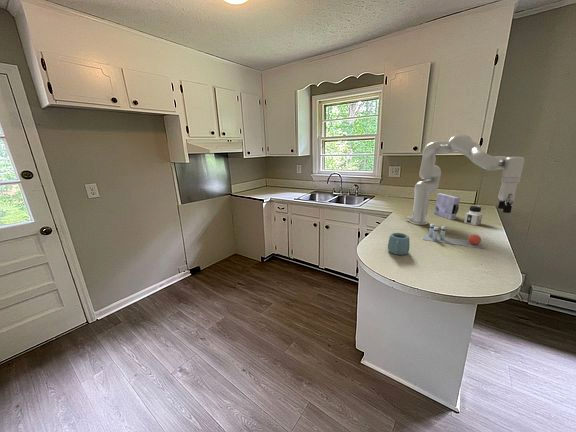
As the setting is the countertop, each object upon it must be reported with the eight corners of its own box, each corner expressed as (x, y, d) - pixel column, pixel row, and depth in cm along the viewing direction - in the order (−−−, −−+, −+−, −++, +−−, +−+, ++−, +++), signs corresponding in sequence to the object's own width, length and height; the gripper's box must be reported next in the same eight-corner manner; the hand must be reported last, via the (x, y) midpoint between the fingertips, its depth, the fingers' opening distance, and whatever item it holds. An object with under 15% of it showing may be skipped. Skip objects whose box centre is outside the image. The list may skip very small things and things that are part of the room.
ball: (467, 245, 141) (469, 235, 140) (466, 241, 146) (468, 232, 145) (480, 247, 138) (482, 237, 137) (479, 243, 143) (481, 233, 142)
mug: (406, 261, 124) (408, 243, 121) (383, 256, 130) (385, 239, 127) (409, 250, 136) (412, 233, 134) (389, 246, 142) (390, 230, 139)
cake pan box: (457, 219, 188) (461, 197, 183) (451, 220, 187) (455, 198, 182) (438, 213, 206) (441, 193, 201) (433, 213, 205) (436, 193, 200)
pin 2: (432, 240, 149) (434, 227, 147) (432, 239, 151) (433, 226, 149) (436, 241, 148) (438, 228, 145) (436, 240, 150) (438, 227, 147)
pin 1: (428, 237, 154) (430, 224, 152) (428, 236, 157) (430, 223, 154) (432, 237, 153) (434, 225, 151) (432, 236, 155) (434, 224, 153)
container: (475, 225, 174) (479, 208, 170) (463, 222, 181) (467, 205, 177) (481, 223, 177) (484, 206, 174) (469, 221, 184) (472, 204, 180)
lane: (423, 239, 151) (423, 239, 151) (423, 234, 159) (423, 234, 159) (483, 248, 136) (483, 248, 136) (480, 242, 145) (480, 242, 144)
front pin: (439, 240, 150) (441, 227, 147) (439, 238, 152) (441, 226, 149) (444, 240, 148) (446, 227, 146) (444, 239, 150) (446, 226, 148)
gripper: (497, 178, 140) (491, 206, 144) (506, 181, 125) (499, 213, 130) (514, 178, 136) (507, 207, 141) (525, 182, 122) (517, 215, 126)
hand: (503, 210), depth 135 cm, fingers open, 9 cm apart
